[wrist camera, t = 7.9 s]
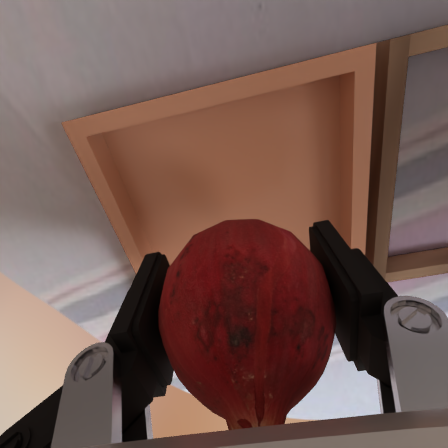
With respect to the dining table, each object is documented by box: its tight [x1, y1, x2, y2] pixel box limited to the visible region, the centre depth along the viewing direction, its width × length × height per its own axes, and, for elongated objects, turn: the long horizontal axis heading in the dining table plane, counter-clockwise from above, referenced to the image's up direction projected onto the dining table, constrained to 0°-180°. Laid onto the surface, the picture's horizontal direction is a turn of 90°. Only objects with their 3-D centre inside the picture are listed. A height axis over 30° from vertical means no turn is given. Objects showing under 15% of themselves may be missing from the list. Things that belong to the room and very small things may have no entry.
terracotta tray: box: [62, 43, 376, 274], centre depth 15 cm, size 14×14×2 cm
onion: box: [158, 219, 337, 430], centre depth 9 cm, size 6×6×8 cm
